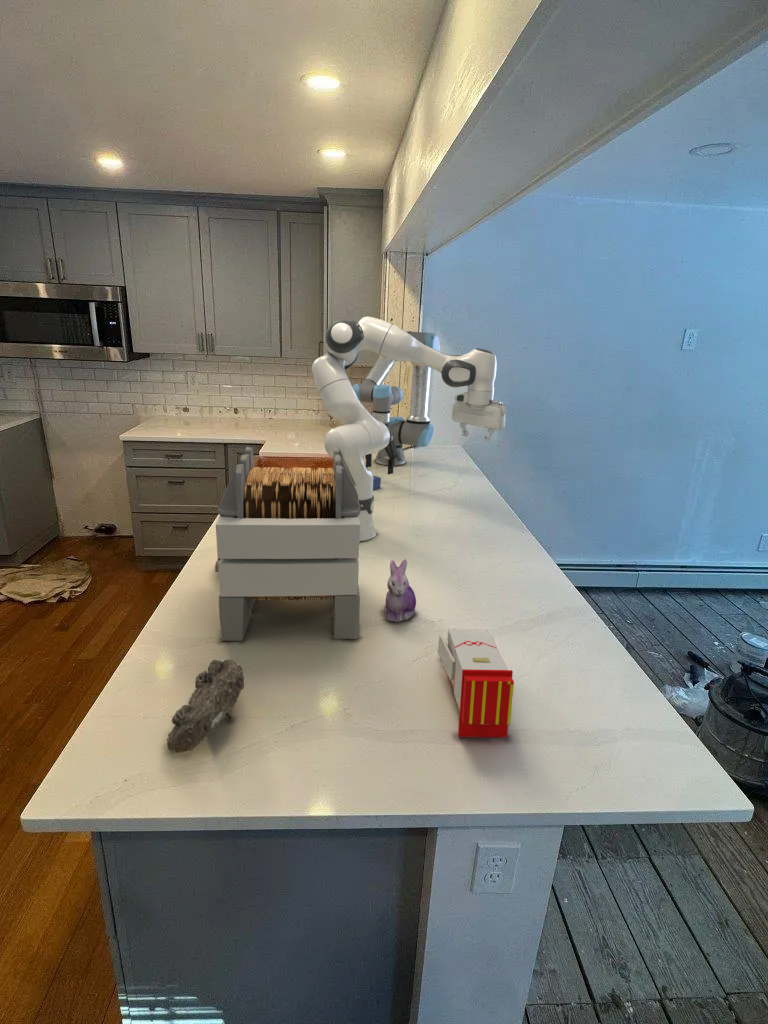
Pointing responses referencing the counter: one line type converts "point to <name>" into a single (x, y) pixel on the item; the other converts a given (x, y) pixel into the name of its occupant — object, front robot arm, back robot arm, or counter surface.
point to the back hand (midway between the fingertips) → (379, 470)
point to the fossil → (206, 705)
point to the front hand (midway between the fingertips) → (475, 438)
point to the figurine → (399, 594)
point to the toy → (478, 682)
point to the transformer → (288, 542)
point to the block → (376, 482)
